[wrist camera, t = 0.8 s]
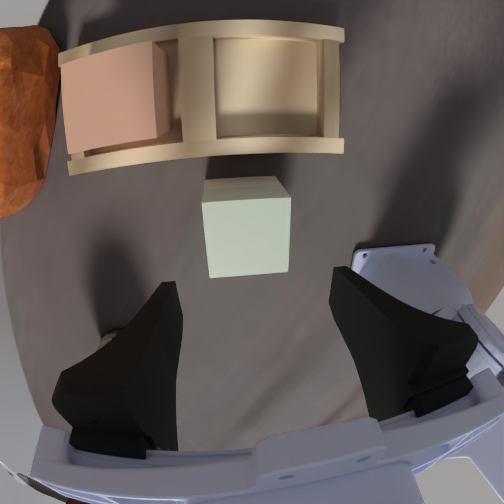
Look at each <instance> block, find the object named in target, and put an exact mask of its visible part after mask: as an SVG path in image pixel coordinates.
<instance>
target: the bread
mask: <svg viewBox="0 0 504 504" xmlns="http://www.w3.org/2000/svg"><path fill="white" fill-rule="evenodd" d="M59 53H61V50H60V49H59V47H58V45H57V44H56V42H55V40H54V39H53V37H52V35H51V34H50V32H49V30H48V29H46V28H43V27H40V26H37V25H33V26H25V27H9V28H0V218H1V217H4V216H8V215H12V214H13V213H15V212H17V211H18V210H20V209H22V208H24V207H25V206H26V205H28V204H29V202H30V201H31V200H32V199H33V198H34V196H35V195H36V194H37V193H38V192H39V190H40V189H41V187H42V184H43V182H44V180H45V177H46V171H47V165H48V160H49V155H50V150H51V144H52V139H53V133H54V128H55V113H56V100H57V92H58V84H59V78H60V72H61V67H58V54H59Z"/></svg>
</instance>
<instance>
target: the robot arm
mask: <svg viewBox="0 0 504 504" xmlns="http://www.w3.org/2000/svg"><path fill="white" fill-rule="evenodd" d="M423 249H424V250H423ZM434 251H435V245H434V244H432V243H429V244H417V245H405V246H394V247H381V248H369V249H359V250H356V251H355V252H354V255H353V261H352V267H351V269H350V268H348V267H347V266H340V267H334V269H333V276H332V283H331V290H330V297H329V304H330V308H331V311H332V314H333V317H334V320H335V322H336V324H337V326H338V328H339V330H340V332H341V334H342V336H343V338H344V340H345V342H346V344H347V347H348V349H349V351H350V353H351V355H352V357H353V360H354V362H355V365H356V368H357V371H358V374H359V377H360V381H361V384H362V388H363V391H364V395H365V399H366V404H367V408H368V412H369V417H367V416H366V417H359V418H354V419H350V420H346V421H342V422H337V423H333V424H329V425H324V426H319V427H314V428H309V429H304V430H298V431H292V432H286V433H281V434H277V435H273V436H269V437H267V438H265V439H262V440H260V441H258V442H257V443H256V444H255V445H254V447H253V448H248V449H237V450H221V451H178V441H177V426H176V376H177V368H178V361H179V355H180V348H181V341H182V331H183V314H182V310H181V306H180V301H179V297H178V292H177V288H176V283H175V281H170V282H162V283H161V284H160V285H159V286H158V288H157V289H156V290H155V292H154V293H153V294H152V296H151V297H150V298H149V300H148V301H147V302H146V303H145V305H144V306H143V307H142V309H141V310H140V311H139V312H138V313H137V315H136V316H135V317H134V318H133V319H132V320H131V321H130V323H129V324H128V325H127V326H126V327H125V328H124V329H123V330H122V331H121V332H120V333H118V334H117V335H116V336H115V337H114V338H113V339H112V340H110V341H109V342H108V343H107V344H105V345H104V346H103V347H102V348H100V349H99V350H98V351H96V352H95V353H93V354H92V355H90V356H89V357H87V358H86V359H84V360H83V361H81V362H79V363H77V364H75V365H74V366H72V367H70V368H68V369H66V370H64V371H62V372H61V374H60V376H59V379H58V382H57V384H56V387H55V390H54V393H53V396H52V403H53V405H54V407H55V408H56V410H57V411H58V412H59V413H60V414H61V415H62V417H63V418H64V419H65V420H66V421H67V422H68V423H69V424H70V425H71V426H72V427H73V428H72V432H71V434H70V433H69V432H67V431H64V430H61V429H56V428H52V427H48V426H42V429H41V432H40V436H39V440H38V444H37V447H36V451H35V455H34V459H33V464H32V468H31V473H30V476H31V477H32V478H34V479H35V480H37V481H39V482H40V483H42V484H44V485H45V486H47V487H49V488H51V489H53V490H54V491H56V492H58V493H60V494H62V495H64V496H66V497H69V498H73V499H76V500H79V501H83V502H87V503H90V504H424V501H423V498H422V496H421V493H420V490H419V488H418V485H417V482H416V480H415V477H414V475H416V474H418V473H420V472H422V471H424V470H426V469H428V468H430V467H431V466H433V465H435V464H437V463H439V462H441V461H442V460H444V459H449V458H465V457H466V458H469V459H470V460H471V461H472V462H473V464H474V465H475V466H476V468H477V469H478V470H479V471H480V473H481V474H482V475H483V477H484V478H485V479H486V480H487V482H488V483H489V484H490V486H491V487H492V488H493V489H494V491H495V492H496V493H497V495H498V496H499V497H500V499H501V500H502V501H503V503H504V335H503V334H502V333H501V331H500V330H499V329H498V328H497V327H496V325H495V324H494V323H493V322H492V321H491V320H490V319H489V318H488V317H487V316H486V315H485V314H484V313H483V312H482V311H481V310H480V309H479V308H478V307H476V306H475V305H474V304H473V300H472V297H471V294H470V292H469V290H468V288H467V286H466V285H465V284H464V283H463V282H462V281H461V280H460V279H459V278H458V277H457V276H456V275H455V274H454V273H453V272H452V271H451V270H450V269H449V268H448V267H447V266H446V265H445V264H444V263H443V262H442V261H440V260H439V259H438V258H437V257H436V256H435V255H434ZM365 253H366V254H365ZM363 254H365V255H364V256H363Z"/></svg>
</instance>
